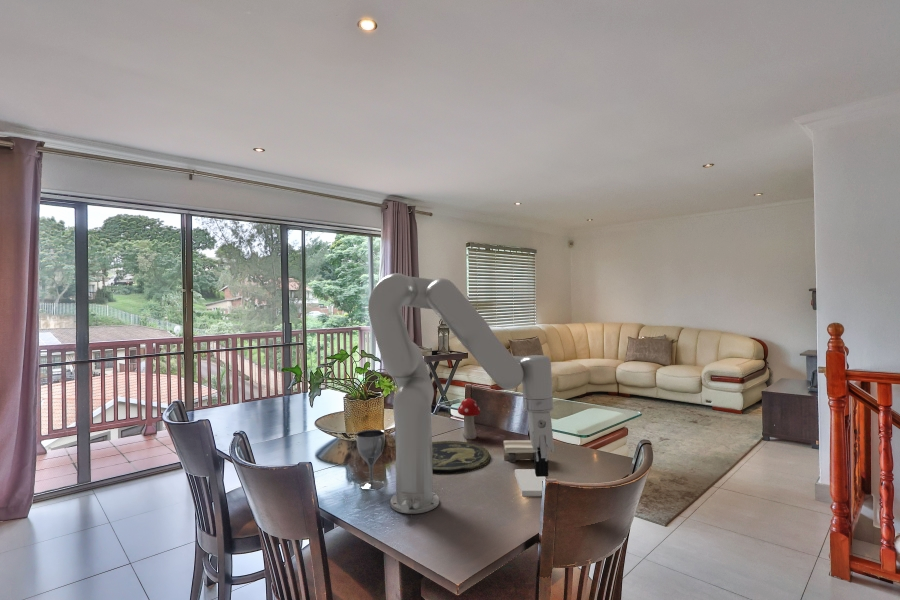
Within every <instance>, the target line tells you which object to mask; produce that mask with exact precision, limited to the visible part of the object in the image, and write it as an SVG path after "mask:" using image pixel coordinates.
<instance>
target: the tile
mask: <svg viewBox="0 0 900 600" xmlns="http://www.w3.org/2000/svg"><path fill="white" fill-rule="evenodd" d="M514 476H515V478H516V482H517V485H518V487H519V488H518V489H519V491H520V494H521V496H522V497H542V496H541V493H542V481H543V480H544V479H547V476H544V477H537V476H536V474H535V468H531V469H530V468H528V469H527V468H522V469H517V468H516V469H514Z"/></svg>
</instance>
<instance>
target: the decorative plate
mask: <svg viewBox="0 0 900 600" xmlns="http://www.w3.org/2000/svg"><path fill="white" fill-rule="evenodd" d="M489 460H491V455H490V452H489V451H488V449H486V448H485V447H483V446H481V445H479V444H475V443H471V442H465V441H459V440H436V441H432V466H433V475H455V474H463V473H468V471H469V472H472V470H473V471H476V470H479V469H481V468H483V467H485V466H486V465H487V464H488V463H489V462H490V461H489ZM485 464H486V465H485ZM484 465H485V466H484ZM482 466H483V467H482ZM480 467H481V468H480ZM478 468H479V469H478ZM475 469H476V470H475Z"/></svg>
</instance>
